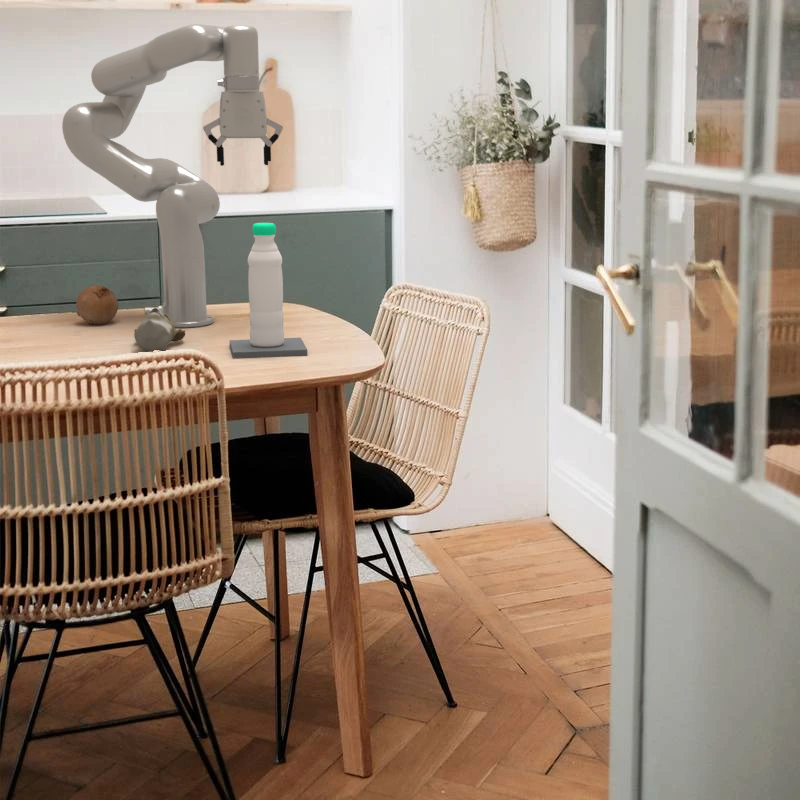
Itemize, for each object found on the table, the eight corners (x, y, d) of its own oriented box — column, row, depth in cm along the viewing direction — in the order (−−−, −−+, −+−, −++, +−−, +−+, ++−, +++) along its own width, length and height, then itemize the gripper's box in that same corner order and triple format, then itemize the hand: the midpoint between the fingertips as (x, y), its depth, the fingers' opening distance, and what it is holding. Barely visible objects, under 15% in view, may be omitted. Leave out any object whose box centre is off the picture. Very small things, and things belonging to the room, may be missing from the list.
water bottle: (278, 348, 262) (275, 225, 256) (245, 347, 263) (241, 224, 257) (288, 341, 268) (285, 221, 262) (256, 340, 270) (252, 221, 264)
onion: (111, 337, 296) (121, 301, 291) (70, 328, 293) (79, 291, 288) (114, 316, 303) (123, 280, 298) (73, 307, 301) (82, 271, 296)
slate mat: (233, 358, 258) (232, 352, 258) (229, 345, 271) (229, 340, 270) (307, 355, 261) (307, 349, 261) (300, 343, 273) (300, 337, 273)
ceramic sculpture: (122, 311, 261) (137, 304, 275) (124, 354, 262) (138, 344, 277) (175, 312, 261) (187, 304, 275) (176, 354, 262) (188, 344, 277)
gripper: (201, 85, 273) (205, 166, 277) (283, 85, 276) (285, 165, 280) (201, 85, 280) (204, 164, 285) (280, 84, 283) (282, 163, 288)
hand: (244, 165), depth 282 cm, fingers open, 9 cm apart
